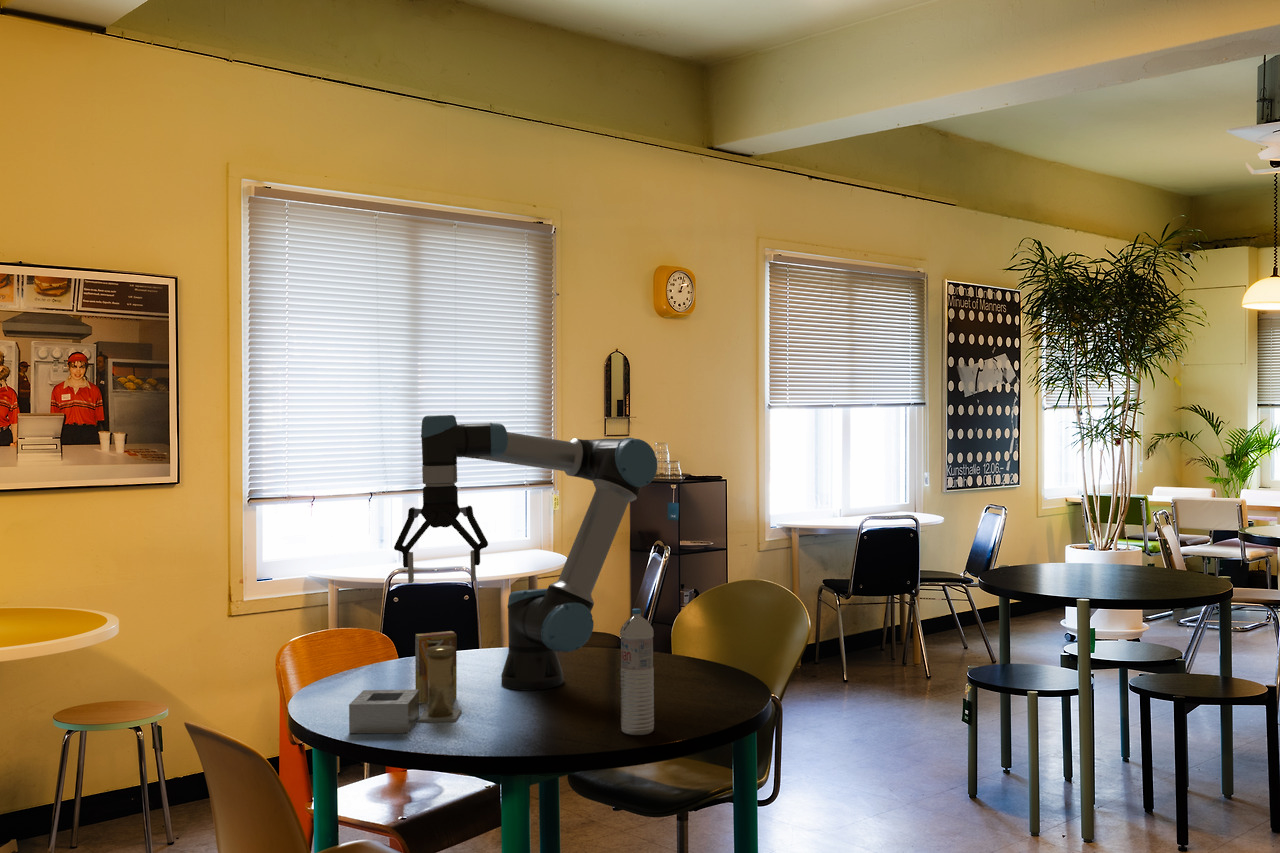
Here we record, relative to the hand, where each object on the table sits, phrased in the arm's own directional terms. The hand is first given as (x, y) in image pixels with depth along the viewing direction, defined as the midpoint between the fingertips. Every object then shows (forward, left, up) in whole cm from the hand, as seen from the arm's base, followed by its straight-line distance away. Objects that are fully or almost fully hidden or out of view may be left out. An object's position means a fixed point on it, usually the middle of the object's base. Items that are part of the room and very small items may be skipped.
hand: (442, 581), depth 225 cm
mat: (0, +3, -29) cm, 29 cm away
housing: (+11, +9, -29) cm, 32 cm away
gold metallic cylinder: (0, +3, -28) cm, 28 cm away
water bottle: (-42, +16, -29) cm, 54 cm away
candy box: (+4, -12, -29) cm, 32 cm away
